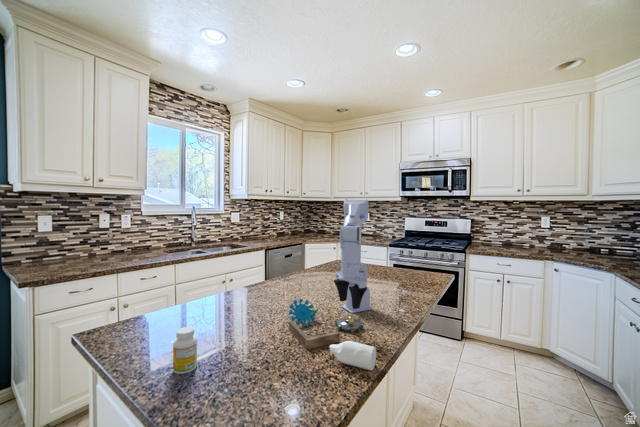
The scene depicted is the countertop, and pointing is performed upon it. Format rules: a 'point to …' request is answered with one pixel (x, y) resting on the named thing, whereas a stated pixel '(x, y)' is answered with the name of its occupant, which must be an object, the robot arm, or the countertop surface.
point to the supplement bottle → (185, 351)
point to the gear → (302, 312)
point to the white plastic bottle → (355, 354)
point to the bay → (313, 341)
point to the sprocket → (349, 324)
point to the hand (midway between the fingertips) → (349, 304)
